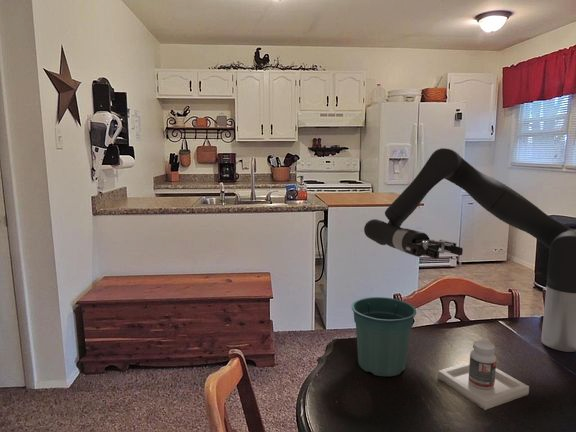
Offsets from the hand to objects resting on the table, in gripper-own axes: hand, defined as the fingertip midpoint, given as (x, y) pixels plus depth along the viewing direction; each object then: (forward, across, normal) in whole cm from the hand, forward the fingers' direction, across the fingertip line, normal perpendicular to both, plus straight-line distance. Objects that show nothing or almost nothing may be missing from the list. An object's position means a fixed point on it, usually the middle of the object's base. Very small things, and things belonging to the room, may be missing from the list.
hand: (450, 253), depth 113 cm
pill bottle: (+18, -6, +28) cm, 33 cm away
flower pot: (0, -22, +28) cm, 36 cm away
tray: (+18, -6, +28) cm, 34 cm away
